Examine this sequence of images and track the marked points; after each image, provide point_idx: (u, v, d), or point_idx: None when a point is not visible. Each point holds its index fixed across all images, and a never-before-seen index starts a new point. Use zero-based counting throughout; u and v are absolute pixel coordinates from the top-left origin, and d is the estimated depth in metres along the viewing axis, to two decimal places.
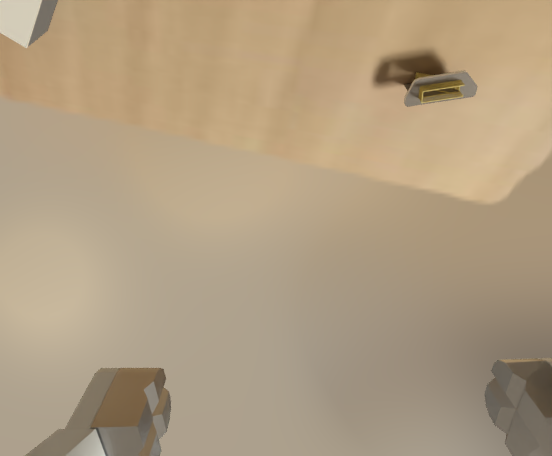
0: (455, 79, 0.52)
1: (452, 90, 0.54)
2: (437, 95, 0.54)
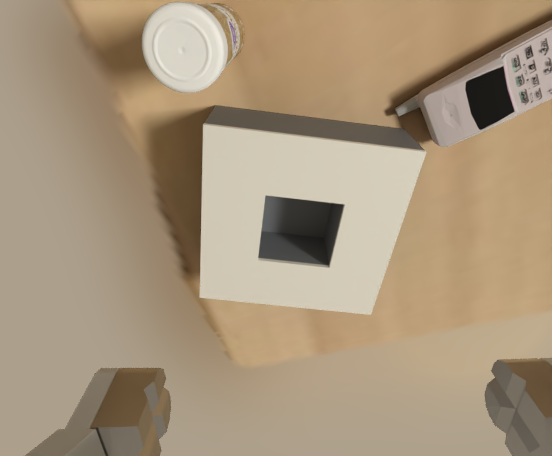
0: None
1: None
2: None
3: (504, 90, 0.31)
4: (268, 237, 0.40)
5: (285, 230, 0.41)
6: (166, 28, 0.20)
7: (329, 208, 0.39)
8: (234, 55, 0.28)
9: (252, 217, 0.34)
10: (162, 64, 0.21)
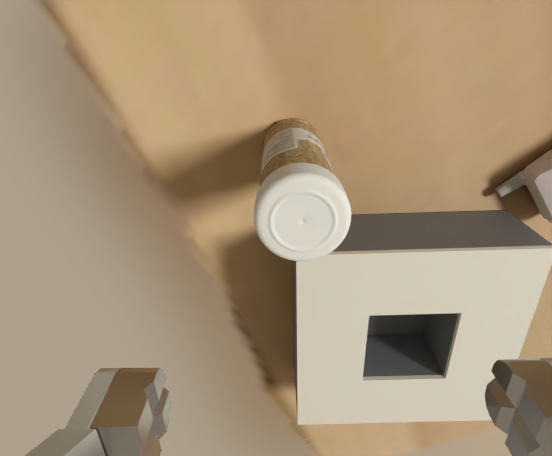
0: None
1: None
2: None
3: None
4: None
5: (378, 331, 0.36)
6: (285, 202, 0.17)
7: None
8: None
9: (355, 338, 0.30)
10: (280, 238, 0.17)
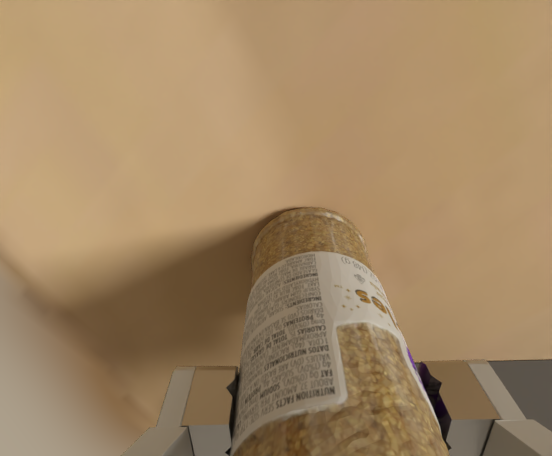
0: None
1: None
2: None
3: None
4: None
5: None
6: None
7: None
8: None
9: None
10: None
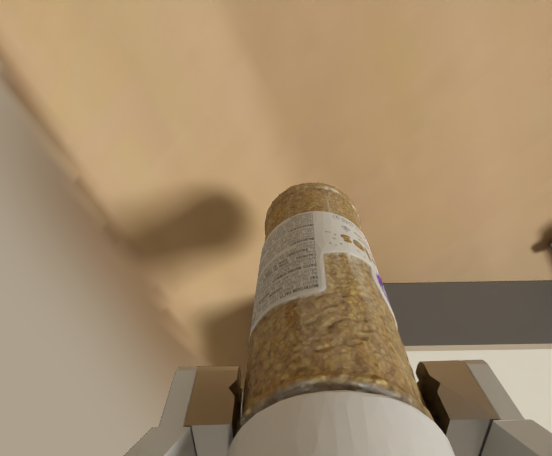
0: None
1: None
2: None
3: None
4: None
5: None
6: None
7: None
8: None
9: None
10: None
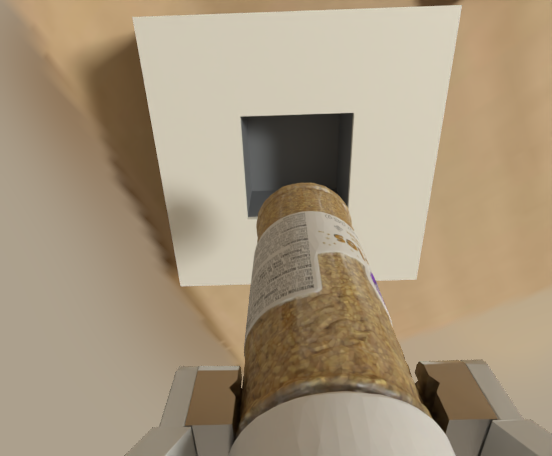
0: None
1: None
2: None
3: None
4: (261, 195, 0.30)
5: (283, 185, 0.31)
6: None
7: (336, 144, 0.29)
8: None
9: (228, 154, 0.24)
10: None
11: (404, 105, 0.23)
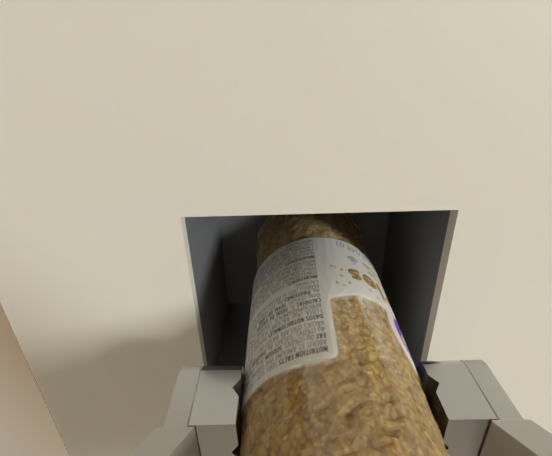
0: None
1: None
2: None
3: None
4: (245, 318, 0.17)
5: None
6: None
7: (384, 229, 0.16)
8: None
9: (159, 292, 0.11)
10: None
11: None
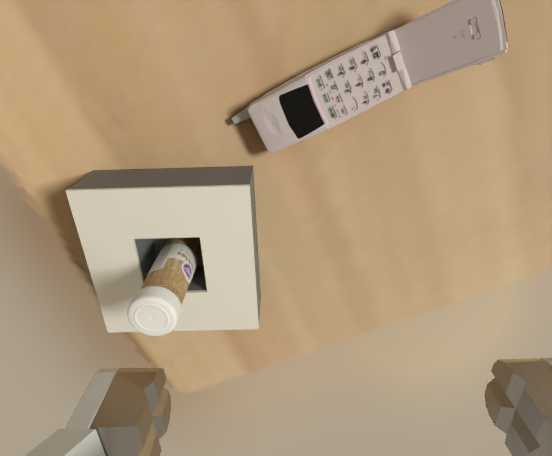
0: None
1: None
2: None
3: (313, 105, 0.37)
4: None
5: None
6: (140, 310, 0.33)
7: None
8: (193, 274, 0.41)
9: (128, 258, 0.40)
10: (141, 326, 0.34)
11: (228, 233, 0.39)
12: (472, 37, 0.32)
